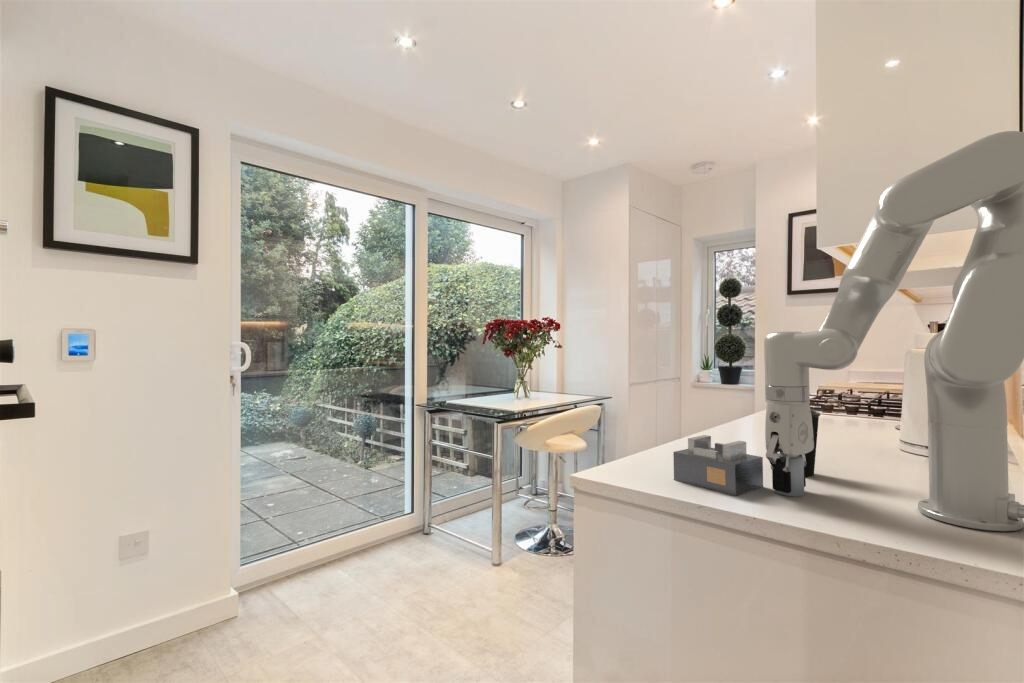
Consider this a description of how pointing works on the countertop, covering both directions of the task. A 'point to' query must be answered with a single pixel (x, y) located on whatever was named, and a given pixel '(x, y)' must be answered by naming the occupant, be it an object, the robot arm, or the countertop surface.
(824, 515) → the countertop surface
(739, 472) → the grey labeled bracket block
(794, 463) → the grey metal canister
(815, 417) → the drinking cup
